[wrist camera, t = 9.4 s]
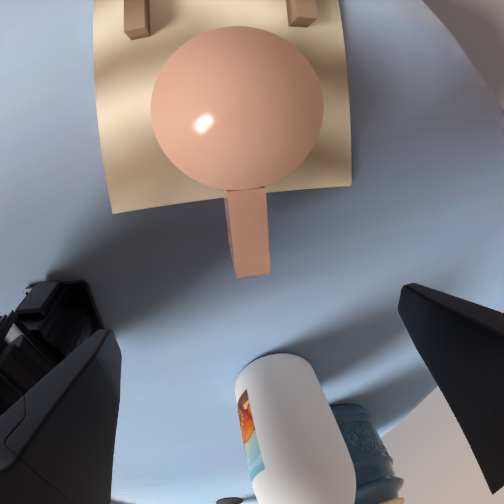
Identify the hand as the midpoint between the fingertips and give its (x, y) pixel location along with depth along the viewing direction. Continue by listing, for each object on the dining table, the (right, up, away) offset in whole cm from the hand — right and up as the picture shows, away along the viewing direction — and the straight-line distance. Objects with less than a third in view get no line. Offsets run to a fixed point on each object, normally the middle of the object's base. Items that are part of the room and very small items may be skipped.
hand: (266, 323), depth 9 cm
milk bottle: (+2, -10, +19) cm, 22 cm away
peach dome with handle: (-2, +8, +9) cm, 13 cm away
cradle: (-2, +14, +8) cm, 16 cm away
